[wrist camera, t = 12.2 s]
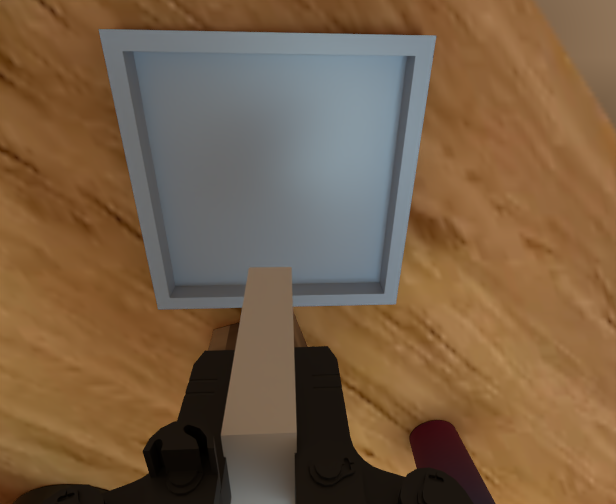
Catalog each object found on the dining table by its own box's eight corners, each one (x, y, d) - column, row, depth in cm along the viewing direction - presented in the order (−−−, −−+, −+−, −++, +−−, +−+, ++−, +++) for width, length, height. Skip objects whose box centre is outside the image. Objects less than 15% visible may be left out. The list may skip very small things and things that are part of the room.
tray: (166, 292, 30) (158, 309, 28) (115, 31, 21) (98, 29, 19) (388, 288, 31) (395, 304, 29) (422, 37, 22) (436, 35, 21)
